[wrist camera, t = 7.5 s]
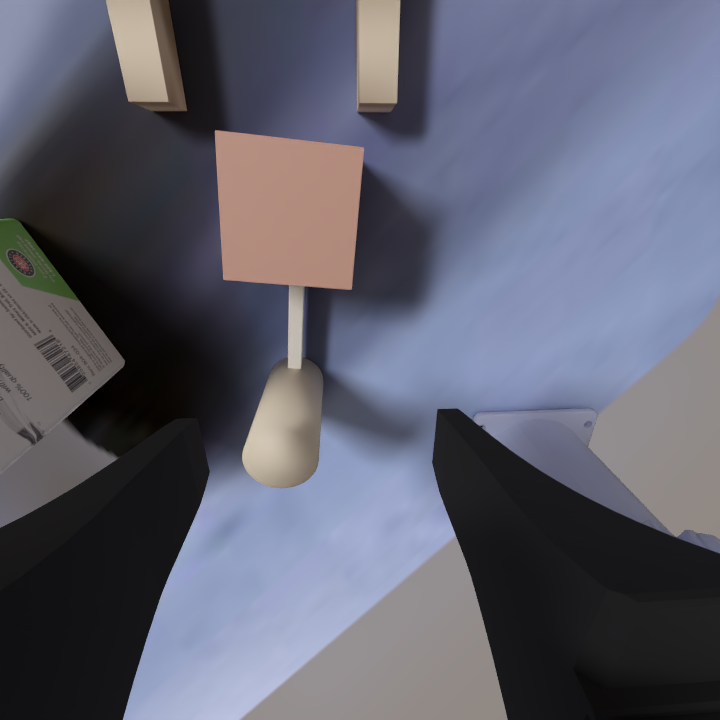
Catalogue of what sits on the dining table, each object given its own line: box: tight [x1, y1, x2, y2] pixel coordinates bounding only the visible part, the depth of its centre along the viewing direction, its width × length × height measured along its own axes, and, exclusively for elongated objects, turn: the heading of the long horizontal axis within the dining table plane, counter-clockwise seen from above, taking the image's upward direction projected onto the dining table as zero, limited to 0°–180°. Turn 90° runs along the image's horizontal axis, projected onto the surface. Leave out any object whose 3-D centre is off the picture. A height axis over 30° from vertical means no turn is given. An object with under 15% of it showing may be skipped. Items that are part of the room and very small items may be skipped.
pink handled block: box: [215, 130, 364, 488], centre depth 17 cm, size 14×5×7 cm, turn 174°
